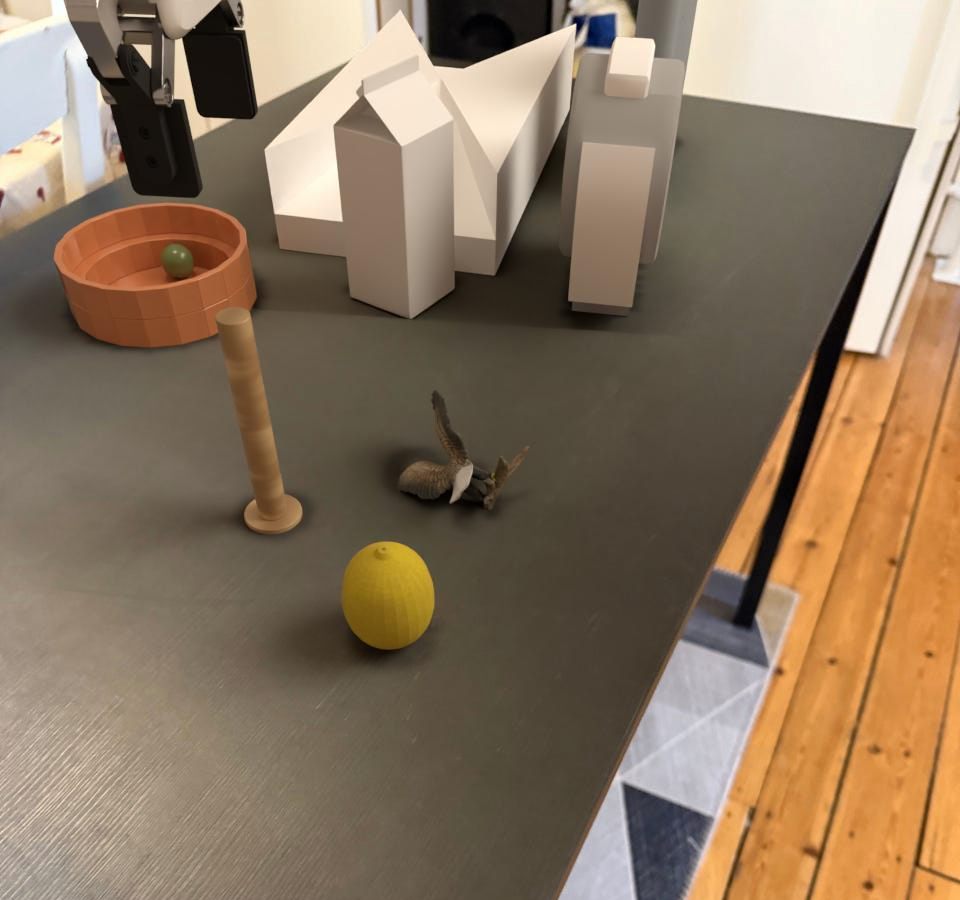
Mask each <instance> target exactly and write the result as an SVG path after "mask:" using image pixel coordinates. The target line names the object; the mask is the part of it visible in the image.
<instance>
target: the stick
mask: <svg viewBox="0 0 960 900" xmlns="http://www.w3.org/2000/svg"><path fill="white" fill-rule="evenodd" d="M215 320H216V324H217V329H218V333H217V334H218V338H219V342H220V346H221V351H222V356H223V360H224V364H225V369H226V374H227V377H228V382H229V387H230V392H231V397H232V400H233V405H234V409H235V414H236V419H237V423H238V428H239V432H240V436H241V441H242V445H243V450H244V454H245V459H246V463H247V464H246V465H247V468H248V472H249V477H250V481H251V487H252V491H253V494H254V499H253V500H252V501H250V502H249V503H248V504H247V505H246V508H245V509H244V514H243V518H244V521H245V524H246V526H247V527H248V528H249V529H250V530H252V531H253V532H255V533H258V534H261V535H278V534H282V533H283V534H284V533H286V532H288V531H290V530H292V529H293V528H295V527H296V526H297V525H298V524H299V523H300V522H301V521H302V517H303V514H304V513H303V507H302V504H301V503H300V501H299V500H298V499H297V498H295V497H294V496H292V495H291V494H286V493H285V489H284V483H283V478H282V474H281V469H280V463H279V458H278V457H279V456H278V452H277V447H276V442H275V437H274V432H273V426H272V422H271V421H272V420H271V416H270V410H269V405H268V400H267V395H266V390H265V384H264V379H263V374H262V369H261V364H260V358H259V353H258V347H257V342H256V337H255V331H254V326H253V321H252V316H251V313H250V312H249V311H248V310H246V309H244V308H240V307H231V308H226V309H223V310H221V311H219V312H218V313H217V314H216V317H215Z"/></svg>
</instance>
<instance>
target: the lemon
mask: <svg viewBox="0 0 960 900" xmlns="http://www.w3.org/2000/svg"><path fill="white" fill-rule="evenodd" d="M433 582H434V581H433V580H432V576H431V573H430V571H429V568H428V566H427V564H426V563H425V561H424V559H422V557H421V556H420V555H419V554H418V553H417V552H416V551H415V550H414V549H412V548H410V547H409V546H407V545H405V544H402V543H399V542H395V541H377V542H375V543H371V544H368V545H366V546H365V547H363V548H361V549H360V550H358V552H356V554H354V555H353V557H352V558H351V559H350V561H349V562H348V564H347V566H346V568H345V570H344V574H343V579H342V584H341V590H340V591H341V593H340V594H341V595H340V596H341V604H342V605H341V606H342V611H343V614H344V618H345V620H346V622H347V624H348V626H349V628H350V630H351V631H352V632H353V633H354V635H356V636H357V638H358V639H360V640H361V641H362V642H363V643H365V644H367V645H369V646H370V647H373V648H376V649H379V650H388V651H390V650H398V649H402V648H405V647H407V646H409V645H412V644H413V643H415V642H416V641H417V640H418V639H419V638H420V637H422V635H424V633H425V632H426V630H427V628H428V627H429V625H430V623H431V621H432V617H433V613H434V609H435V588H434V583H433Z"/></svg>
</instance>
